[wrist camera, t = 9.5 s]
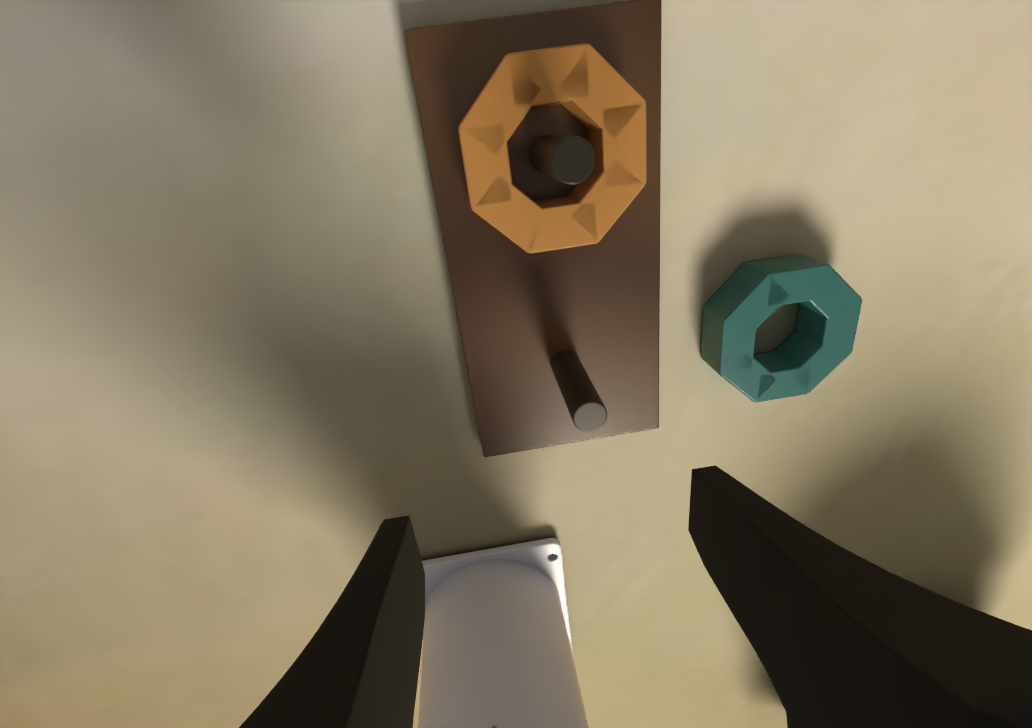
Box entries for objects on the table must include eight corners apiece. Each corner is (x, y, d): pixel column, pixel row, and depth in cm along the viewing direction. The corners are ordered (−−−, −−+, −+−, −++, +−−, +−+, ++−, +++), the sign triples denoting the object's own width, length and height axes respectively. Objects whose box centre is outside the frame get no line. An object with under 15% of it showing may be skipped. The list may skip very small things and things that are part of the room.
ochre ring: (630, 226, 18) (647, 236, 16) (476, 249, 18) (479, 261, 16) (626, 44, 16) (646, 34, 14) (447, 68, 15) (447, 60, 14)
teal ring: (817, 369, 23) (845, 388, 21) (698, 389, 22) (717, 409, 21) (838, 247, 20) (871, 257, 19) (704, 267, 20) (726, 280, 18)
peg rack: (652, 419, 23) (700, 489, 18) (482, 447, 22) (489, 526, 18) (652, 1, 16) (730, -49, 11) (405, 33, 15) (385, -6, 11)
